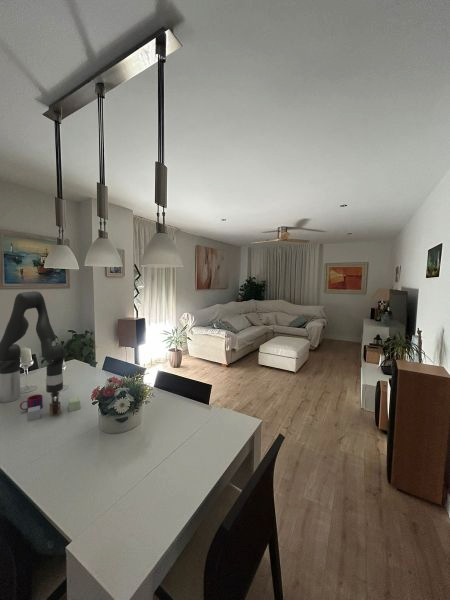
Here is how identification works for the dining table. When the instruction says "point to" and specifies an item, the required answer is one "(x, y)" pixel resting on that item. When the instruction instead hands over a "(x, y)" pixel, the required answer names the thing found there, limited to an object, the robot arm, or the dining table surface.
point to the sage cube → (74, 404)
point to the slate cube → (33, 413)
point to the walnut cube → (52, 408)
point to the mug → (33, 401)
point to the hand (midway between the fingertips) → (55, 410)
